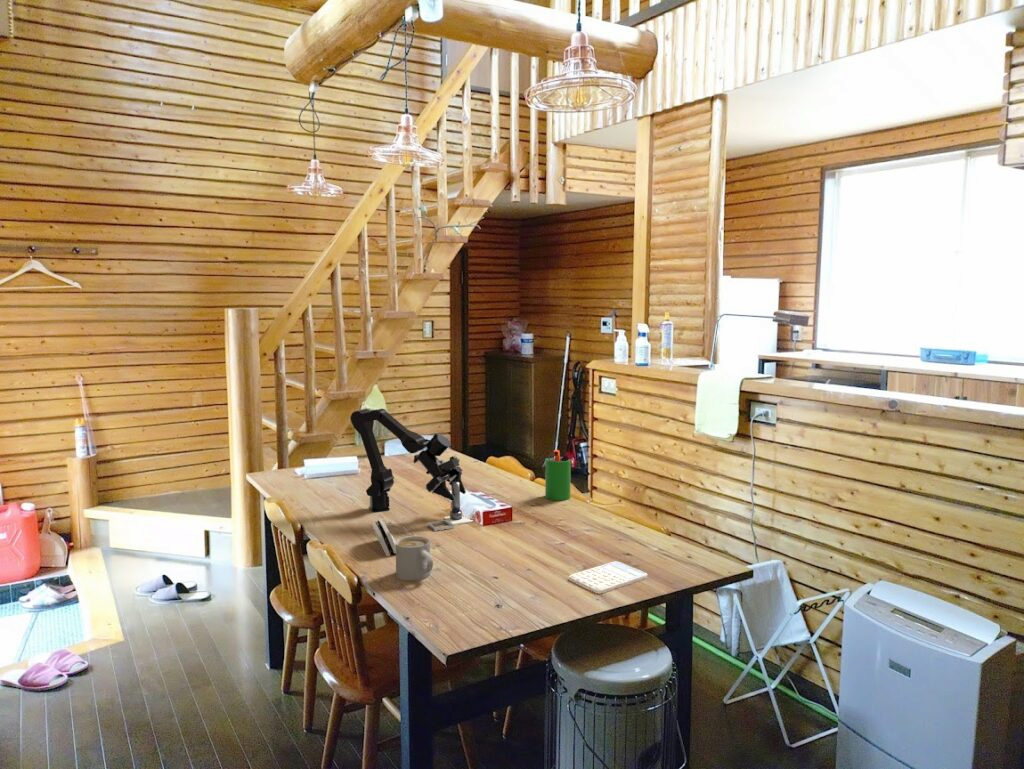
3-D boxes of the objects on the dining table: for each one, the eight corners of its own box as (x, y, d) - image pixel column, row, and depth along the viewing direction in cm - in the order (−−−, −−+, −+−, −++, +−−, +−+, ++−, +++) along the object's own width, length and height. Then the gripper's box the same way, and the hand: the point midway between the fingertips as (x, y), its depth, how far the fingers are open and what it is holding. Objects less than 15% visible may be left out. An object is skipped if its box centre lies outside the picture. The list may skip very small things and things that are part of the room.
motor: (570, 494, 290) (570, 447, 288) (570, 501, 281) (570, 451, 279) (545, 494, 291) (545, 446, 289) (544, 500, 282) (544, 451, 280)
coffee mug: (390, 572, 209) (389, 540, 208) (420, 565, 215) (420, 533, 213) (410, 587, 198) (409, 553, 197) (441, 579, 204) (441, 546, 202)
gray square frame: (434, 531, 246) (434, 528, 246) (427, 525, 252) (427, 522, 252) (453, 528, 249) (453, 525, 249) (446, 522, 255) (446, 519, 255)
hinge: (402, 554, 224) (391, 527, 221) (388, 561, 222) (377, 533, 220) (392, 537, 239) (381, 512, 237) (379, 544, 238) (368, 518, 236)
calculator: (566, 581, 204) (566, 574, 204) (616, 565, 216) (616, 559, 215) (598, 596, 193) (598, 590, 193) (649, 579, 205) (649, 572, 205)
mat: (452, 525, 252) (452, 523, 252) (443, 518, 260) (443, 517, 260) (476, 521, 256) (476, 520, 256) (466, 514, 264) (466, 513, 264)
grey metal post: (455, 520, 255) (454, 484, 254) (447, 518, 259) (446, 482, 257) (464, 518, 258) (463, 482, 257) (457, 515, 262) (456, 480, 260)
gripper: (432, 455, 248) (461, 489, 245) (457, 445, 265) (484, 476, 262) (414, 475, 252) (441, 508, 250) (439, 463, 269) (465, 495, 267)
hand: (459, 496), depth 257 cm, fingers open, 9 cm apart
